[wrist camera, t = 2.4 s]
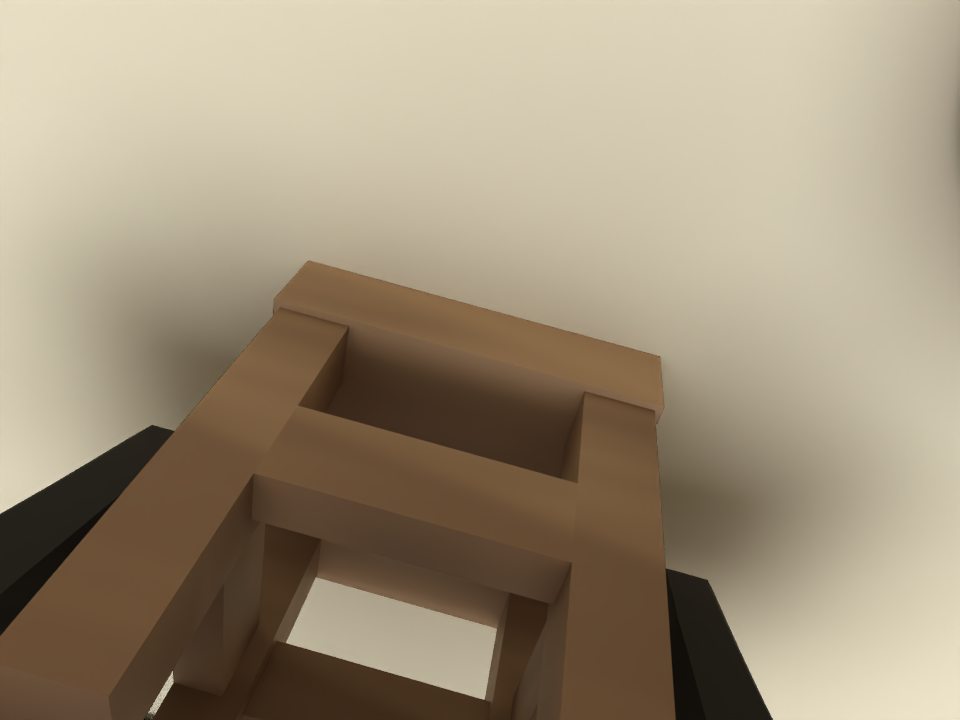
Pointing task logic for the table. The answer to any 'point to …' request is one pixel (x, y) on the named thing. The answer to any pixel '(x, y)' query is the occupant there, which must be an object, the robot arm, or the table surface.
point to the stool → (374, 525)
